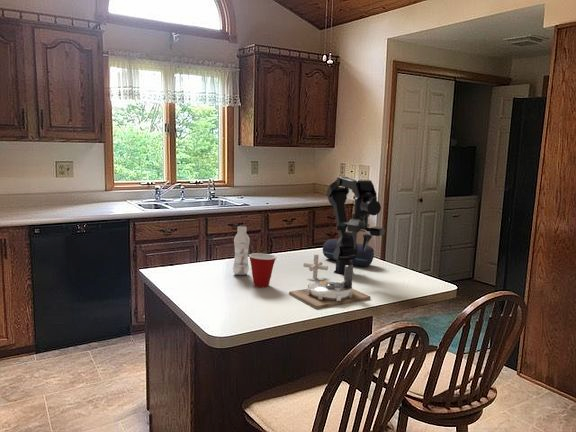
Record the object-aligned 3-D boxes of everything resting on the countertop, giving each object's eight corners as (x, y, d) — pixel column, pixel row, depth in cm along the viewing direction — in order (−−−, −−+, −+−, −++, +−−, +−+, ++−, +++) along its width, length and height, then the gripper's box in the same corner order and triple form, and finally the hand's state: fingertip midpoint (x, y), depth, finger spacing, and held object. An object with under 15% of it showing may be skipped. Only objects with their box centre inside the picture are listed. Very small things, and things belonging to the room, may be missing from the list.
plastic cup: (280, 284, 187) (282, 254, 185) (266, 291, 178) (267, 259, 176) (257, 279, 192) (258, 250, 190) (241, 286, 183) (242, 255, 181)
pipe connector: (330, 277, 200) (332, 253, 198) (322, 283, 191) (323, 258, 189) (308, 273, 204) (309, 250, 202) (298, 279, 195) (300, 255, 193)
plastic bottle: (229, 275, 196) (230, 227, 193) (237, 271, 202) (238, 224, 199) (243, 277, 194) (245, 228, 191) (251, 273, 200) (252, 226, 197)
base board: (315, 309, 161) (316, 300, 161) (288, 294, 175) (289, 286, 175) (370, 299, 174) (370, 291, 173) (341, 286, 188) (341, 278, 188)
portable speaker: (377, 266, 222) (378, 244, 221) (366, 270, 214) (368, 248, 213) (331, 256, 237) (332, 236, 236) (319, 259, 229) (320, 239, 228)
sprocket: (315, 302, 164) (317, 273, 162) (300, 287, 180) (301, 261, 178) (361, 299, 169) (363, 271, 167) (342, 285, 185) (343, 259, 183)
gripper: (331, 210, 190) (328, 249, 192) (375, 216, 180) (372, 257, 182) (343, 208, 199) (341, 245, 202) (386, 213, 189) (383, 252, 192)
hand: (358, 249), depth 194 cm, fingers open, 4 cm apart
